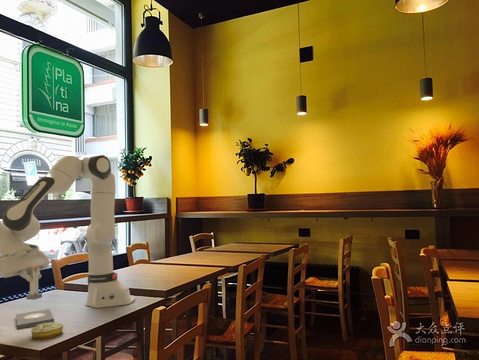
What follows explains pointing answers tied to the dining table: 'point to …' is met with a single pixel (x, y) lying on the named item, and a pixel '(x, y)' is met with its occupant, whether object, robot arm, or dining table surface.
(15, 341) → the dining table surface
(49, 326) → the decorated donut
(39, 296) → the grey stamp
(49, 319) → the slate board
